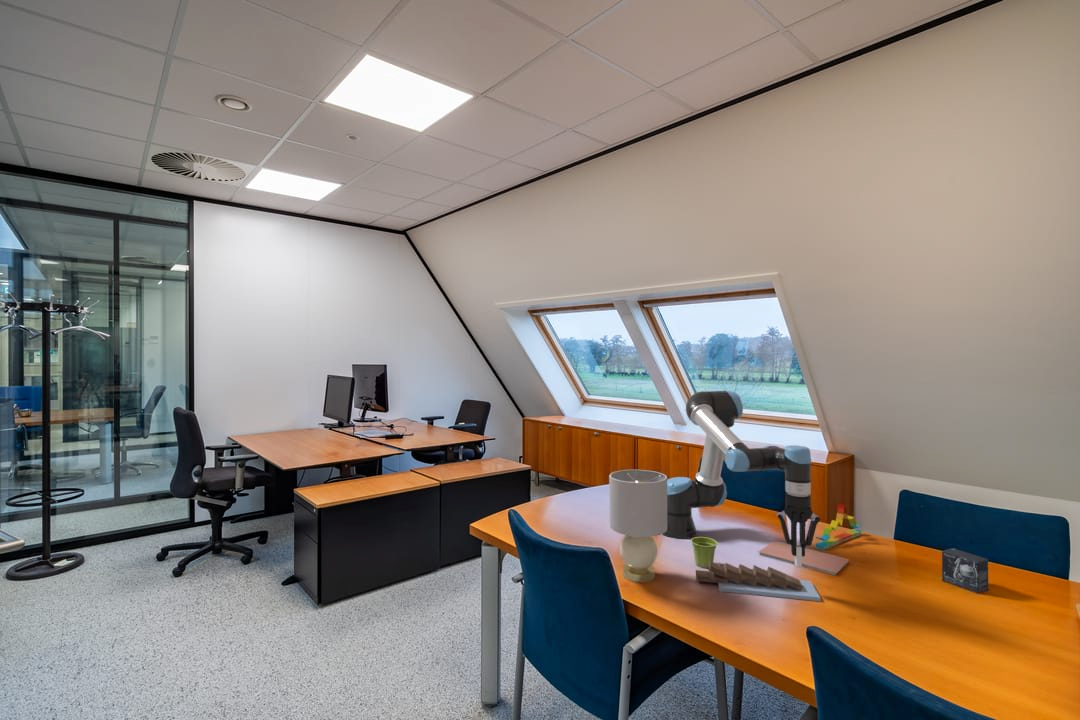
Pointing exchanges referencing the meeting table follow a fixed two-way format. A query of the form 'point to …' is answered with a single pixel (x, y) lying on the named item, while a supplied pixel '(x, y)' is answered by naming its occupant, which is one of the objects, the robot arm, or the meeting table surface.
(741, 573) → the domino
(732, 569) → the domino
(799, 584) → the domino
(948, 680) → the meeting table surface
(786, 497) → the robot arm
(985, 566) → the box
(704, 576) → the domino
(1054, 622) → the meeting table surface
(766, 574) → the domino
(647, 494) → the lamp
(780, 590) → the strip board
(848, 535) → the toy brick structure
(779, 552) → the notebook
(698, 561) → the plant pot
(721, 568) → the domino
